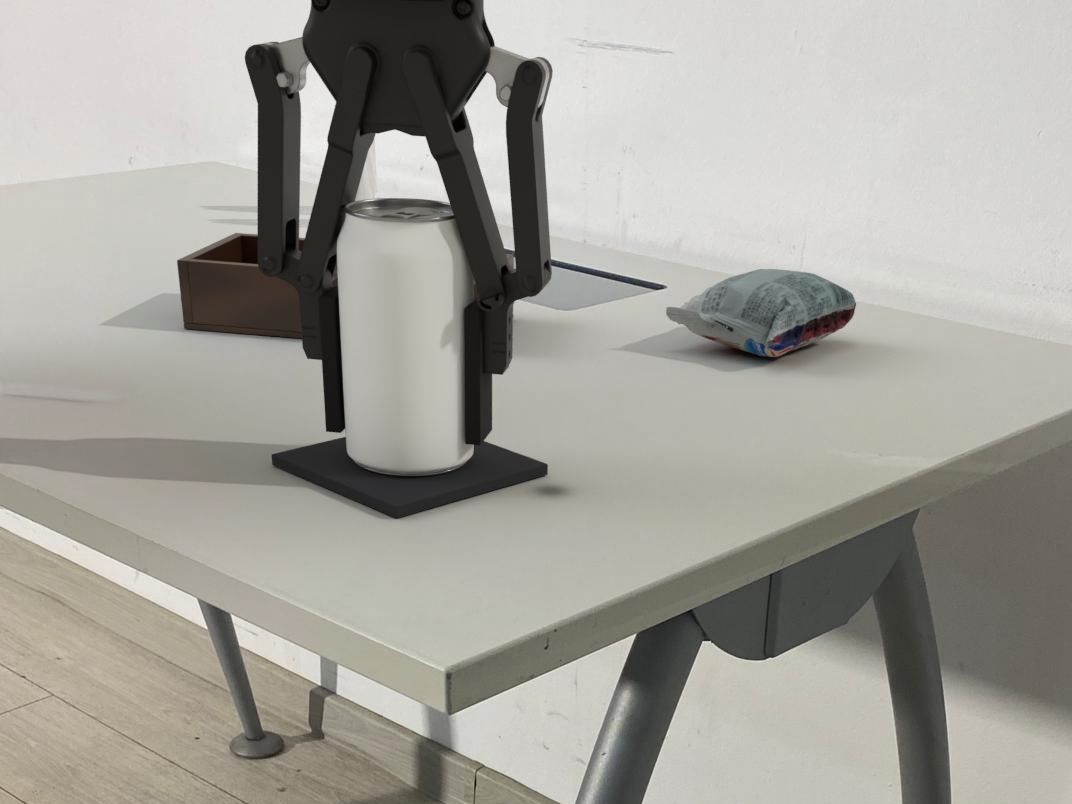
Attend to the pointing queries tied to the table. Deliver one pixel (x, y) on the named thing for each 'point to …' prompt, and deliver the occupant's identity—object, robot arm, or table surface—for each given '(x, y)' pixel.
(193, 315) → the brown wooden box
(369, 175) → the white ridged upright piece
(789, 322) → the packaged food
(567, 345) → the table surface
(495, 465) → the mat
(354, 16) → the robot arm
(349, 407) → the can
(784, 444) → the table surface
